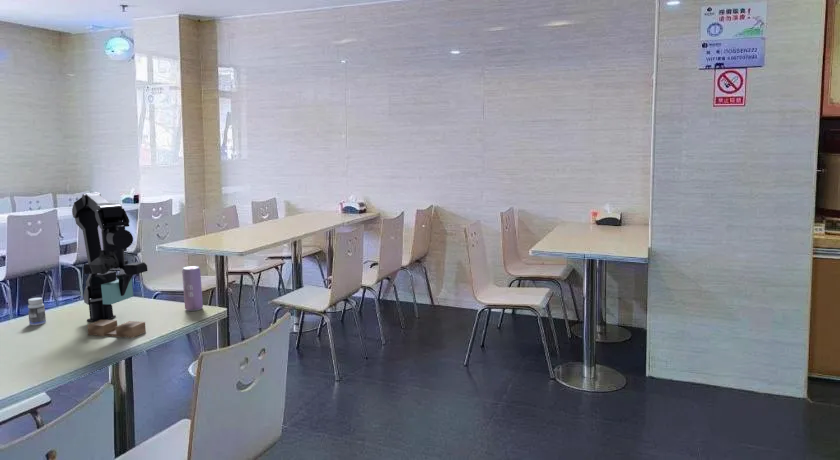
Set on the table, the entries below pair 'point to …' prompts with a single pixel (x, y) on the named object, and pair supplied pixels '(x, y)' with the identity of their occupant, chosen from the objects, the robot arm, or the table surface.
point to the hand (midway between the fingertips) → (117, 295)
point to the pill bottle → (36, 311)
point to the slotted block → (116, 328)
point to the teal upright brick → (115, 292)
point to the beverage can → (192, 288)
